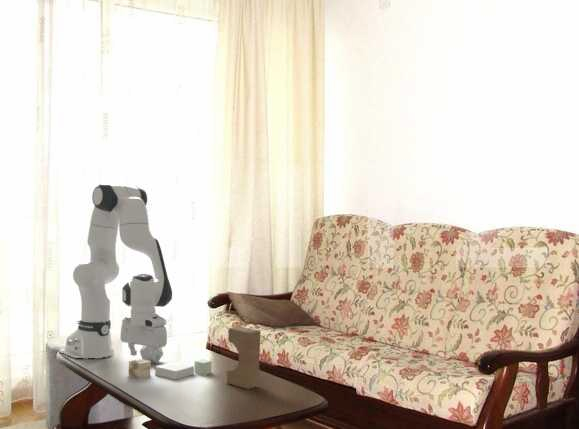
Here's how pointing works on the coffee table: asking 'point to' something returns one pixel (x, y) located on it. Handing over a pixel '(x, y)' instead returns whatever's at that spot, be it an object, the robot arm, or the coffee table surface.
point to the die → (148, 350)
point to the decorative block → (245, 357)
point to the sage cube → (203, 366)
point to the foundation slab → (174, 370)
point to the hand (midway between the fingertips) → (143, 356)
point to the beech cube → (139, 368)
